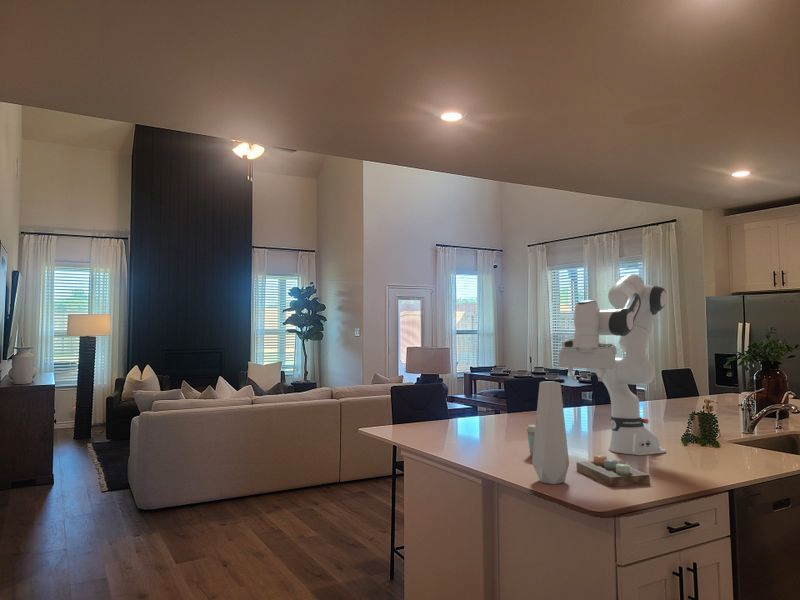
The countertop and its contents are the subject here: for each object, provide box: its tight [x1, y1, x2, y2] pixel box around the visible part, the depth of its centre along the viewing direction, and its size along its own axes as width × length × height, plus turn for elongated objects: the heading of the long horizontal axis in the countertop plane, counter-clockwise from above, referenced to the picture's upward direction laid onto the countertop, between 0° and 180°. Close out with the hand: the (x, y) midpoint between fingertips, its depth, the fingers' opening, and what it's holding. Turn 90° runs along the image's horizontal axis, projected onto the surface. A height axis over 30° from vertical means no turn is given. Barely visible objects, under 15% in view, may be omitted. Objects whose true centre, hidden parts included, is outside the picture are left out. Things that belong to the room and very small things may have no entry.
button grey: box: [604, 458, 619, 470], centre depth 190 cm, size 4×4×3 cm
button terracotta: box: [593, 454, 608, 465], centre depth 197 cm, size 4×4×3 cm
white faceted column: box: [531, 381, 570, 485], centre depth 186 cm, size 12×12×33 cm
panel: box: [576, 460, 651, 488], centre depth 190 cm, size 14×22×3 cm, turn 11°
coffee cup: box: [526, 423, 536, 457], centre depth 224 cm, size 9×8×12 cm
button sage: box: [616, 463, 631, 475], centre depth 183 cm, size 4×4×3 cm
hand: (586, 380), depth 204 cm, fingers open, 8 cm apart
